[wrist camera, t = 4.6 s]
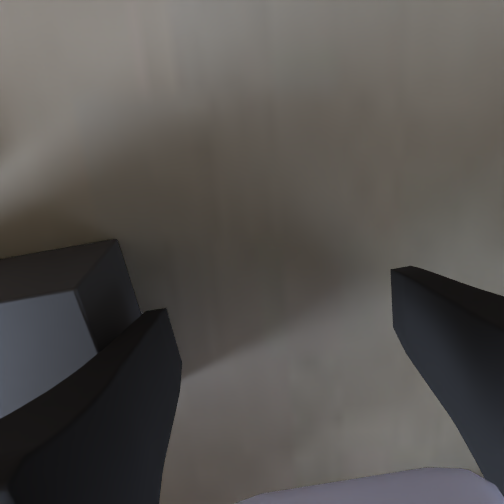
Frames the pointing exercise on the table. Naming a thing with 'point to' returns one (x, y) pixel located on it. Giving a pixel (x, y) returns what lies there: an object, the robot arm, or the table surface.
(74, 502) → the robot arm
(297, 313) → the table surface
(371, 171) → the table surface
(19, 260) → the black block
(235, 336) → the table surface
